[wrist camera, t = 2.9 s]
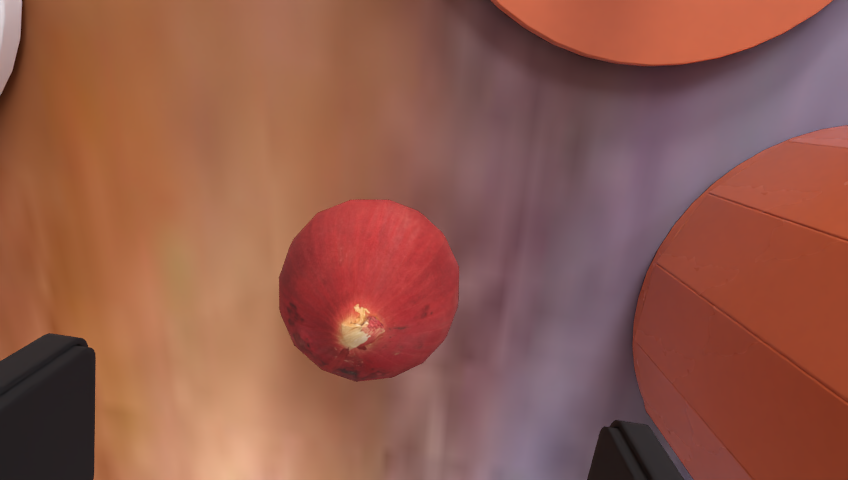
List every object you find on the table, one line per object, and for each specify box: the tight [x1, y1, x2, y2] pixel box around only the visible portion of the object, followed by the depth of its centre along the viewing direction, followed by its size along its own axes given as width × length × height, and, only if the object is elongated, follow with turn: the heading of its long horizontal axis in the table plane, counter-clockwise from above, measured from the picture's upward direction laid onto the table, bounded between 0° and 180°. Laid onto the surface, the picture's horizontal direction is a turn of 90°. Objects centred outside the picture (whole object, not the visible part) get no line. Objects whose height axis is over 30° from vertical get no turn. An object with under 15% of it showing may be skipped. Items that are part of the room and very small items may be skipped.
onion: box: [279, 200, 459, 382], centre depth 18 cm, size 6×6×8 cm
